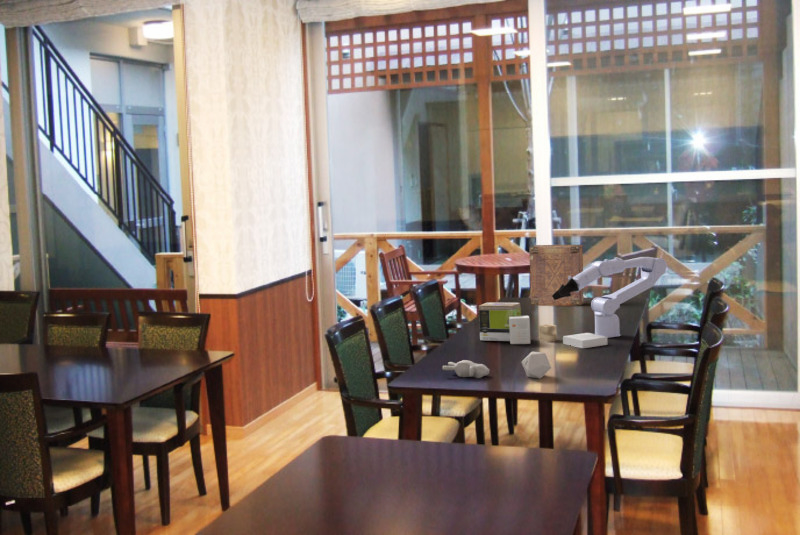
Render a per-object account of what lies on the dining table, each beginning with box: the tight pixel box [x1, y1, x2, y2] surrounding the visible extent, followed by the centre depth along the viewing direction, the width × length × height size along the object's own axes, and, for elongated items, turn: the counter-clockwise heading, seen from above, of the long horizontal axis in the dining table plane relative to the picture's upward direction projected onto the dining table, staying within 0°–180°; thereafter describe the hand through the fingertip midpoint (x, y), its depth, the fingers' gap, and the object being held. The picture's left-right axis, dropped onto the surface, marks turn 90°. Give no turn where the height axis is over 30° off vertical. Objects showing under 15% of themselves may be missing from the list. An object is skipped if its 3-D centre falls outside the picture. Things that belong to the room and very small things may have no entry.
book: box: [528, 244, 584, 307], centre depth 449 cm, size 25×9×30 cm, turn 68°
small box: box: [509, 315, 531, 345], centre depth 352 cm, size 8×6×10 cm
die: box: [521, 351, 552, 379], centre depth 293 cm, size 8×9×10 cm
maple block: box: [538, 323, 558, 343], centre depth 356 cm, size 5×5×6 cm
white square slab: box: [562, 332, 608, 349], centre depth 344 cm, size 12×12×3 cm
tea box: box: [478, 302, 522, 342], centre depth 361 cm, size 15×10×15 cm
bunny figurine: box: [441, 359, 490, 379], centre depth 299 cm, size 10×5×15 cm
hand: (556, 295), depth 349 cm, fingers open, 7 cm apart
